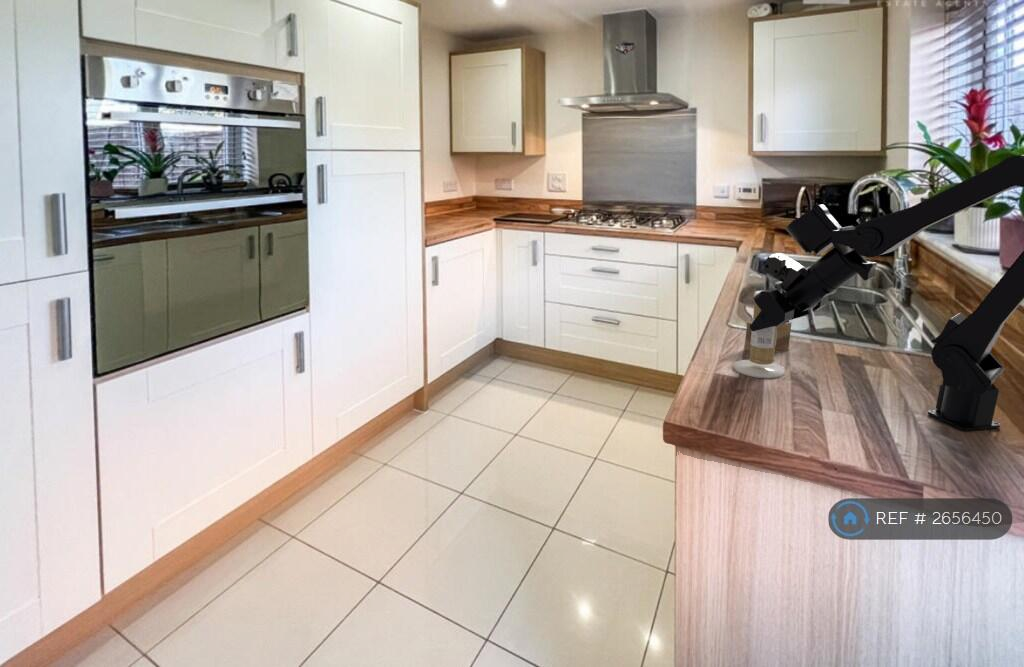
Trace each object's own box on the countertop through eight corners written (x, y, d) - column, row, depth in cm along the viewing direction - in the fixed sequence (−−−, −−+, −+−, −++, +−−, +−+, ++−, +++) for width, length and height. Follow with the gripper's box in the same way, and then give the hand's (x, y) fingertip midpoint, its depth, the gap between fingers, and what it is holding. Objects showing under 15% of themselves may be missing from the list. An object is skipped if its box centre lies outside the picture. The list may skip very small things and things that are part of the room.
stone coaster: (794, 376, 108) (795, 373, 108) (749, 379, 107) (750, 376, 106) (767, 361, 116) (767, 358, 116) (724, 364, 115) (725, 361, 115)
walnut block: (788, 350, 123) (791, 322, 122) (758, 354, 120) (761, 326, 119) (773, 345, 127) (776, 318, 125) (744, 349, 124) (747, 322, 122)
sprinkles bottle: (776, 360, 111) (784, 291, 108) (770, 367, 108) (778, 295, 104) (751, 356, 114) (758, 288, 110) (745, 362, 110) (751, 292, 107)
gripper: (818, 234, 108) (755, 286, 119) (770, 244, 96) (705, 300, 107) (858, 282, 104) (789, 330, 115) (814, 298, 92) (742, 350, 103)
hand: (757, 326), depth 110 cm, fingers closed on sprinkles bottle, 4 cm apart
